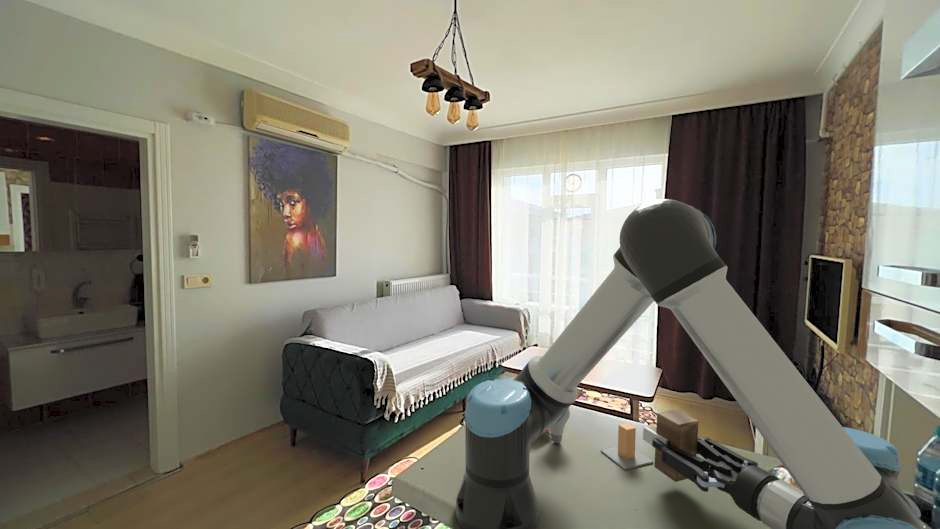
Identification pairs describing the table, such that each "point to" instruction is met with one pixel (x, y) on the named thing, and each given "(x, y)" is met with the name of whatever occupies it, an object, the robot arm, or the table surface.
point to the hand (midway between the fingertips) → (655, 430)
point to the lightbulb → (559, 428)
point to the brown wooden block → (676, 438)
